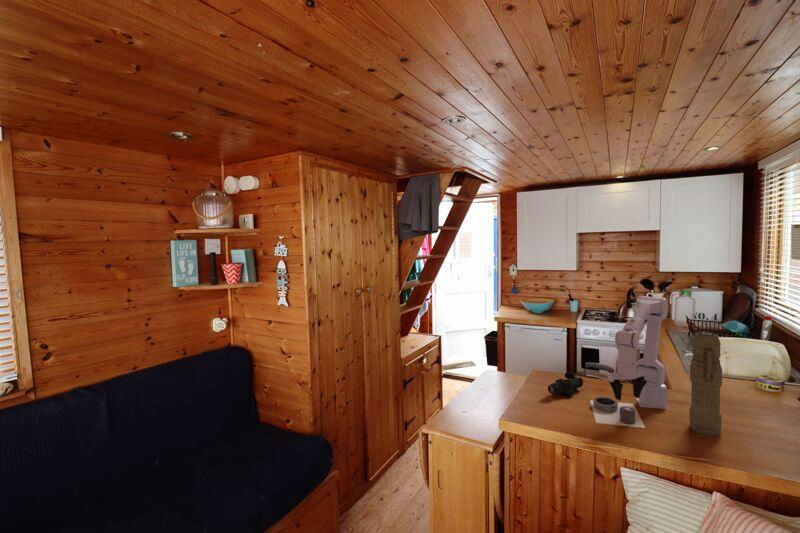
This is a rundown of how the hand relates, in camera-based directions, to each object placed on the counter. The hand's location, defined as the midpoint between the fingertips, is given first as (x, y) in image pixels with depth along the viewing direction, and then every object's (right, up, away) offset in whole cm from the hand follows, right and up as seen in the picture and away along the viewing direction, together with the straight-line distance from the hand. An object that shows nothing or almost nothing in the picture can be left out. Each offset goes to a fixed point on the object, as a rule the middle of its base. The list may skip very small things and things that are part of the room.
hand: (627, 398), depth 145 cm
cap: (+1, -9, +1) cm, 9 cm away
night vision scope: (-11, -8, +28) cm, 31 cm away
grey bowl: (-2, -8, +12) cm, 15 cm away
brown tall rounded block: (+23, -9, -7) cm, 26 cm away
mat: (0, -9, +7) cm, 11 cm away
